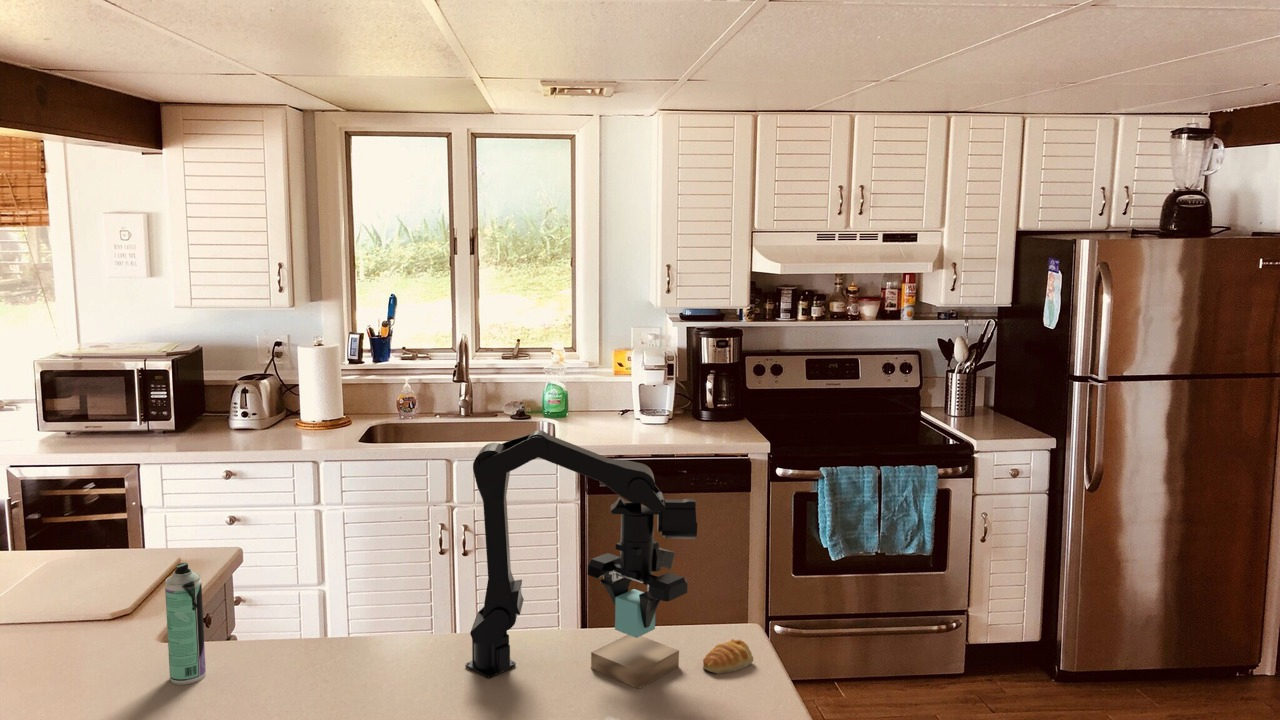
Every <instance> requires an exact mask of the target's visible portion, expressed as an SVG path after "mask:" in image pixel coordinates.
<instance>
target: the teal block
mask: <svg viewBox="0 0 1280 720" xmlns="http://www.w3.org/2000/svg"><path fill="white" fill-rule="evenodd" d="M644 592H645V591H641V590H638V589H634V588H633V589H631V590H628V592H626V593H624V594H621V595H619V596H617V597H616V600H615V605H614V608H615V613H614V615H615V616H614V630H615V631H617V632H620V633H623V634H625V635H630V636H633V637H635V638H638V637H640V636H644V635H645V634H646V635H647V634H648V633H650V632H652V631H654V630H656V613H655V614H654V617H653V619H652V622H651V624H650V626H649V627H647V628H645V627H644V625H643V620H642V613H641V606H640V598H639V595H640V594H642V593H644Z"/></svg>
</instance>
